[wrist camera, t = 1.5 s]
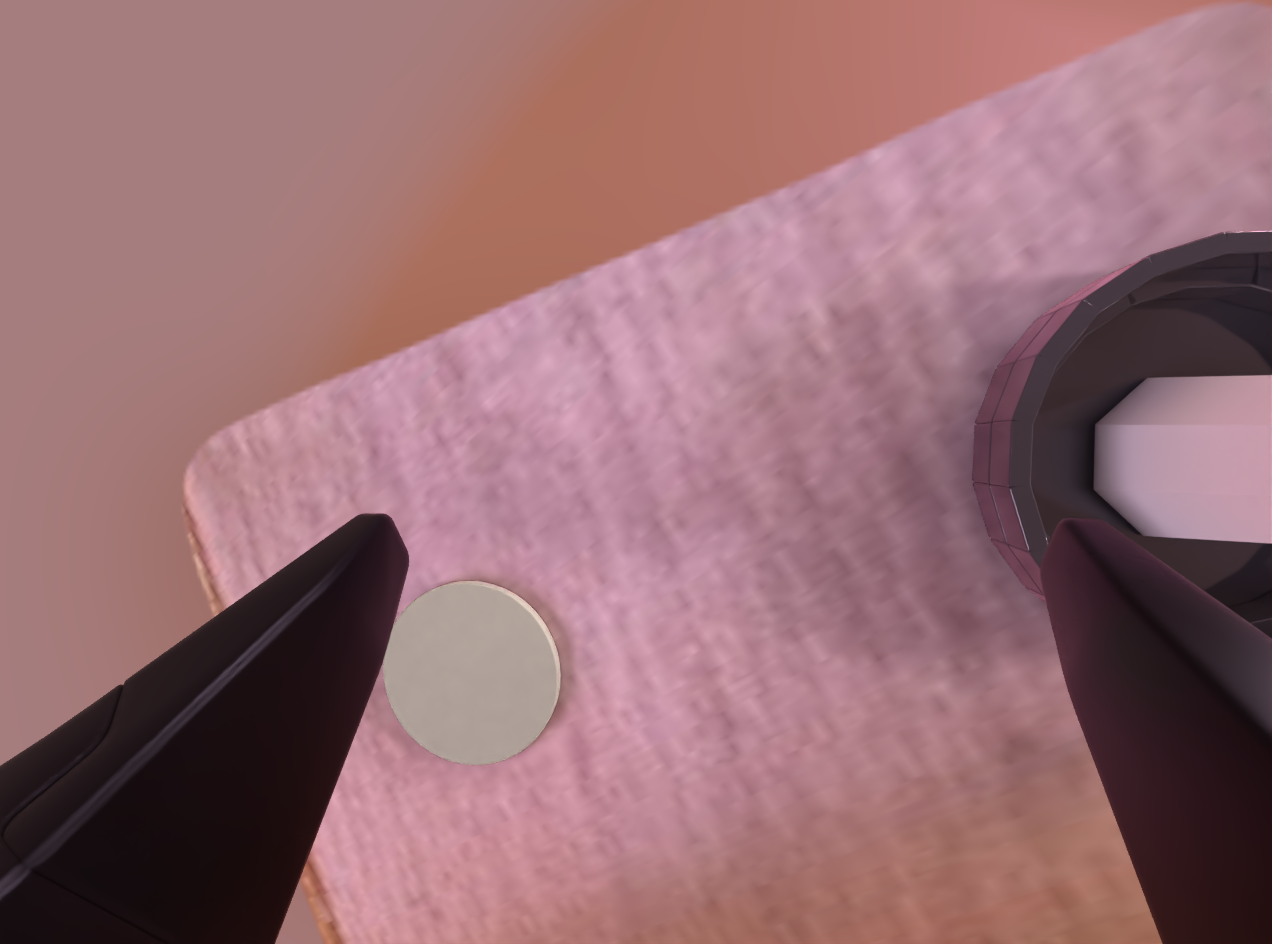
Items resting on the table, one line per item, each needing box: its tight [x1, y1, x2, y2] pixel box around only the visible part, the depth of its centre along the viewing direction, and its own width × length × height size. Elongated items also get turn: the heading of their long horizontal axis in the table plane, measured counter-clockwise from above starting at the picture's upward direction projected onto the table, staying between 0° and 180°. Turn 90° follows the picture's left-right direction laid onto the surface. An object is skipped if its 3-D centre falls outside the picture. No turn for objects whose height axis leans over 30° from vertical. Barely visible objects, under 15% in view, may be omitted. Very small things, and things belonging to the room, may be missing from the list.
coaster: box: [383, 581, 561, 765], centre depth 25 cm, size 7×7×1 cm
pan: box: [973, 230, 1272, 638], centre depth 19 cm, size 12×12×4 cm
